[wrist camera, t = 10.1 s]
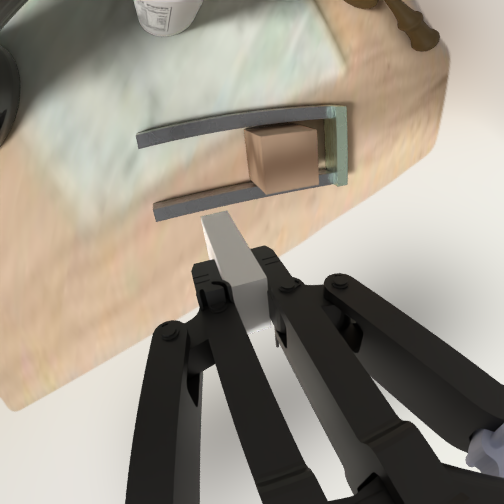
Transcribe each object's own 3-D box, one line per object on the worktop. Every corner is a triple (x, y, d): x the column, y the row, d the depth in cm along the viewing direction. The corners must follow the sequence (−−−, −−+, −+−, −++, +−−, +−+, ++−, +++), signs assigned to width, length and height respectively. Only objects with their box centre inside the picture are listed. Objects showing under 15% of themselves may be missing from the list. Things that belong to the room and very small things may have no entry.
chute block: (243, 129, 32) (260, 136, 27) (292, 123, 33) (316, 130, 28) (249, 178, 35) (266, 194, 30) (296, 170, 37) (318, 184, 32)
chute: (137, 133, 29) (134, 136, 27) (333, 104, 34) (346, 106, 31) (156, 215, 34) (156, 225, 32) (335, 177, 39) (347, 184, 36)
